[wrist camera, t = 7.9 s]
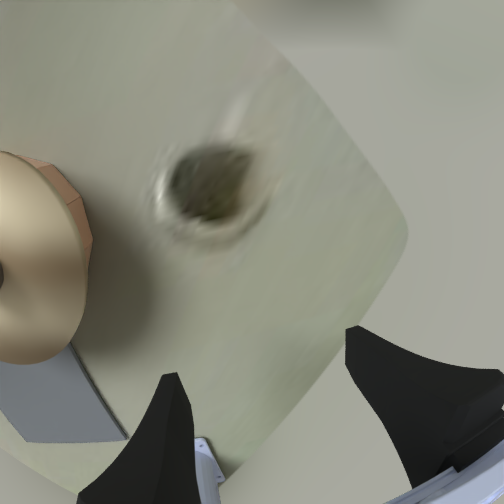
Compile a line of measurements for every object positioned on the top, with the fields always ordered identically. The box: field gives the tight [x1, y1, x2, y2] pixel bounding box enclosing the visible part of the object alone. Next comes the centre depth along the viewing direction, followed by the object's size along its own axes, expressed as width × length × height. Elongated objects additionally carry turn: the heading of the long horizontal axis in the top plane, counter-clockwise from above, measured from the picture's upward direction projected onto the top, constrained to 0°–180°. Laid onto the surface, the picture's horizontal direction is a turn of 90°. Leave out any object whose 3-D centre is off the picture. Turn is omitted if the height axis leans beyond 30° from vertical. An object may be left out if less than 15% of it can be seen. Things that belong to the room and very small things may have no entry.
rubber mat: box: [0, 342, 126, 443], centre depth 22 cm, size 13×13×1 cm
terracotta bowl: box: [16, 155, 93, 271], centre depth 16 cm, size 11×11×4 cm
